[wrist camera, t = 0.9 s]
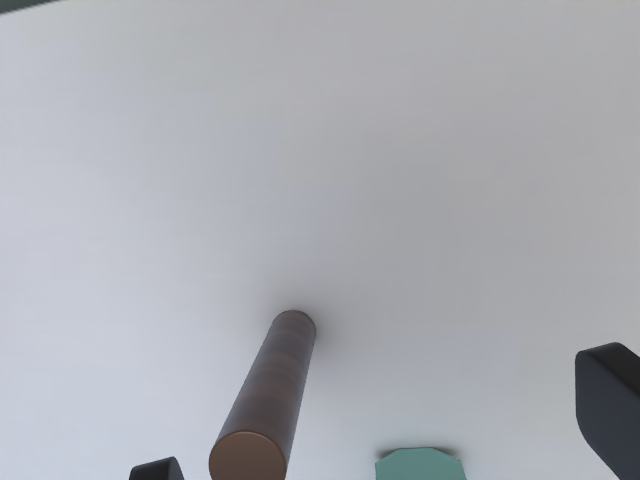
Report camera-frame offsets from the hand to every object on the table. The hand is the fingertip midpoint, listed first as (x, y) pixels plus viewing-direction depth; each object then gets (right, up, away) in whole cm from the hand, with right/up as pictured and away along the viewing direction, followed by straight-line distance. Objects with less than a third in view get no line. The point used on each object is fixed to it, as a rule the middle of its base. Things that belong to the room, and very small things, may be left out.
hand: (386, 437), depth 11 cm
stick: (-3, -2, +26) cm, 26 cm away
